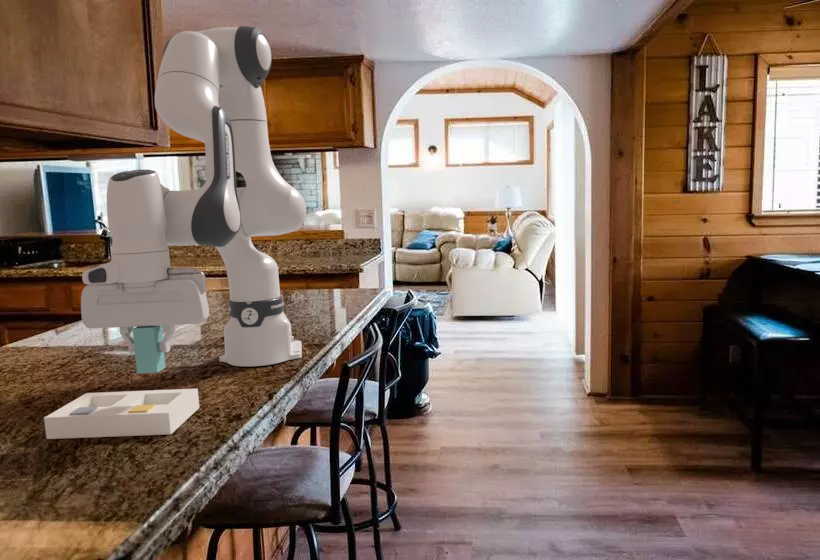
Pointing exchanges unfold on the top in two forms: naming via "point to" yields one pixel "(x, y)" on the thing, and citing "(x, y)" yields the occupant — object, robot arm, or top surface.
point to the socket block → (122, 414)
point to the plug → (148, 349)
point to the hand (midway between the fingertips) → (149, 352)
